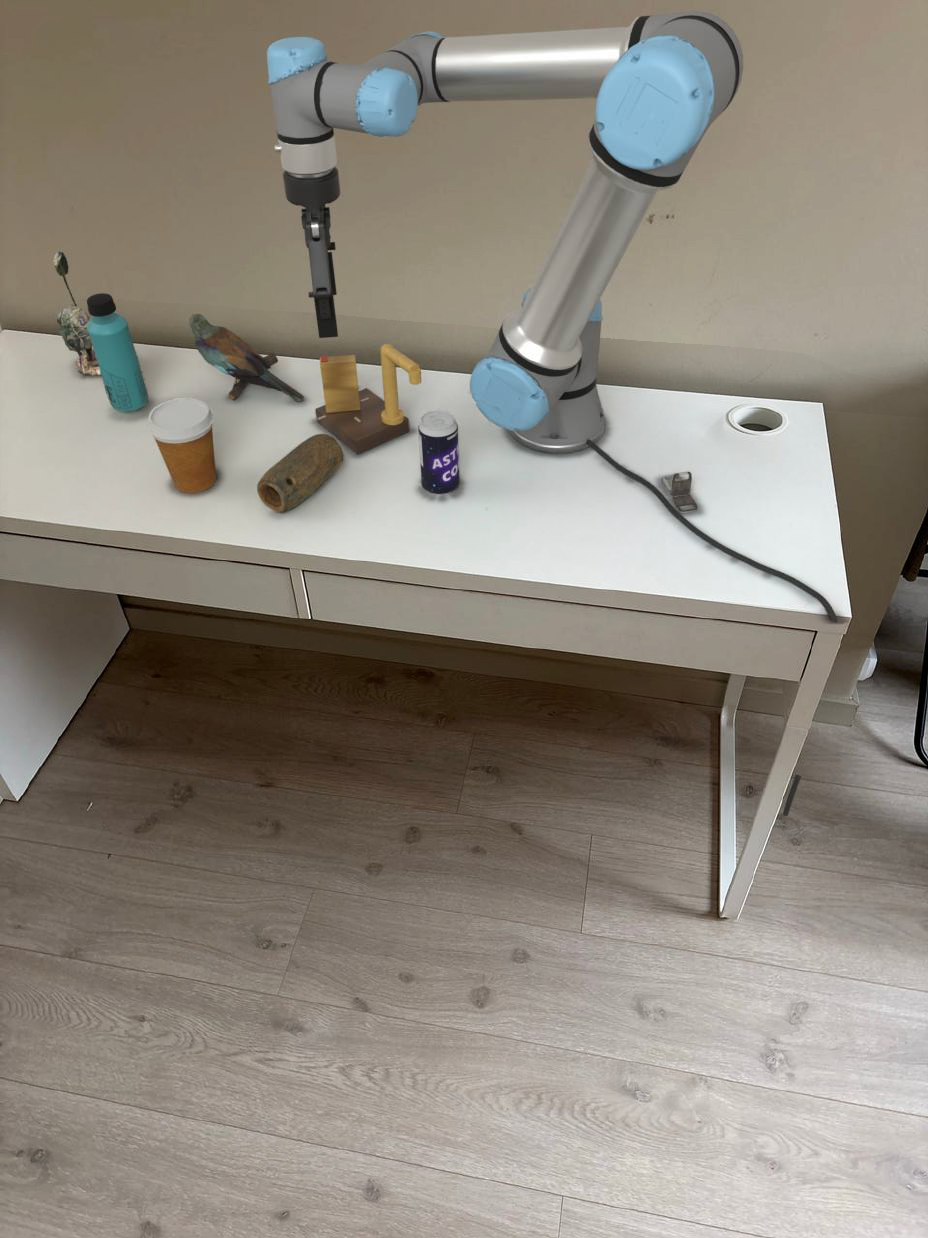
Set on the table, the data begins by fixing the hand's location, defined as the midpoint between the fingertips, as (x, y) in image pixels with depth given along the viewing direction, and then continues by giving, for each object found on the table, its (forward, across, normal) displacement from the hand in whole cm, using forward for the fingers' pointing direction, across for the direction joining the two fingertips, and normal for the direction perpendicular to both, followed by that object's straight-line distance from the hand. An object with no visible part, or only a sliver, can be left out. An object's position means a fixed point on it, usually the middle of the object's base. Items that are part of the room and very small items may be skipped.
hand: (328, 314), depth 153 cm
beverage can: (+20, +19, +14) cm, 31 cm away
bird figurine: (+19, -13, -15) cm, 28 cm away
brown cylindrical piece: (+20, +17, -6) cm, 26 cm away
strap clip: (+20, +26, +49) cm, 59 cm away
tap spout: (+17, +6, +10) cm, 20 cm away
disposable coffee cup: (+19, +13, -23) cm, 32 cm away
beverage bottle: (+19, -9, -35) cm, 41 cm away
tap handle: (+16, 0, +1) cm, 16 cm away
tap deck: (+19, +1, +2) cm, 19 cm away
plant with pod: (+19, -24, -43) cm, 53 cm away
